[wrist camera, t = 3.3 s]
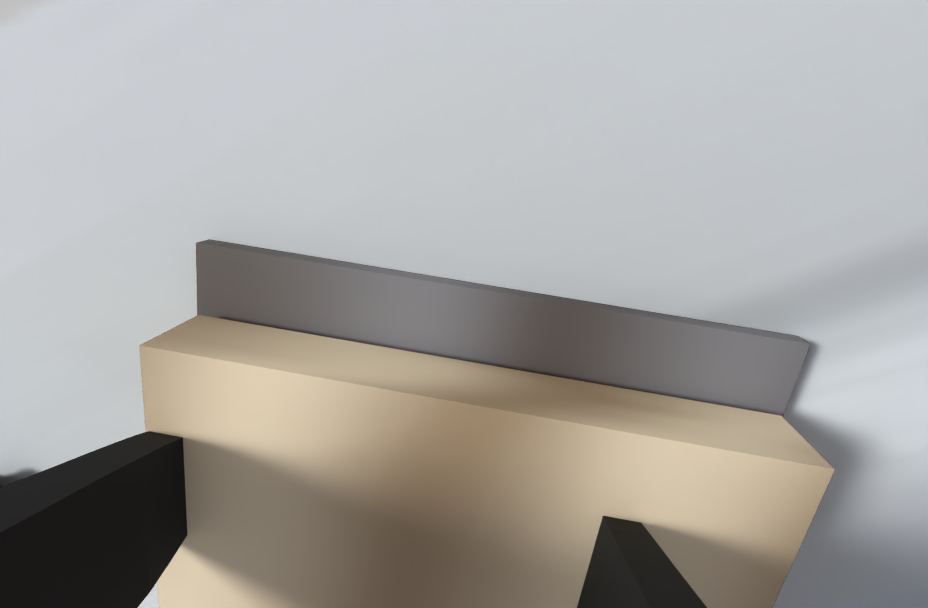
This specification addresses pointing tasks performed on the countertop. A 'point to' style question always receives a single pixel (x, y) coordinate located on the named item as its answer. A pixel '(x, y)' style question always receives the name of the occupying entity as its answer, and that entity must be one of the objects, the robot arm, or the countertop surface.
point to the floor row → (500, 326)
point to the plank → (452, 477)
